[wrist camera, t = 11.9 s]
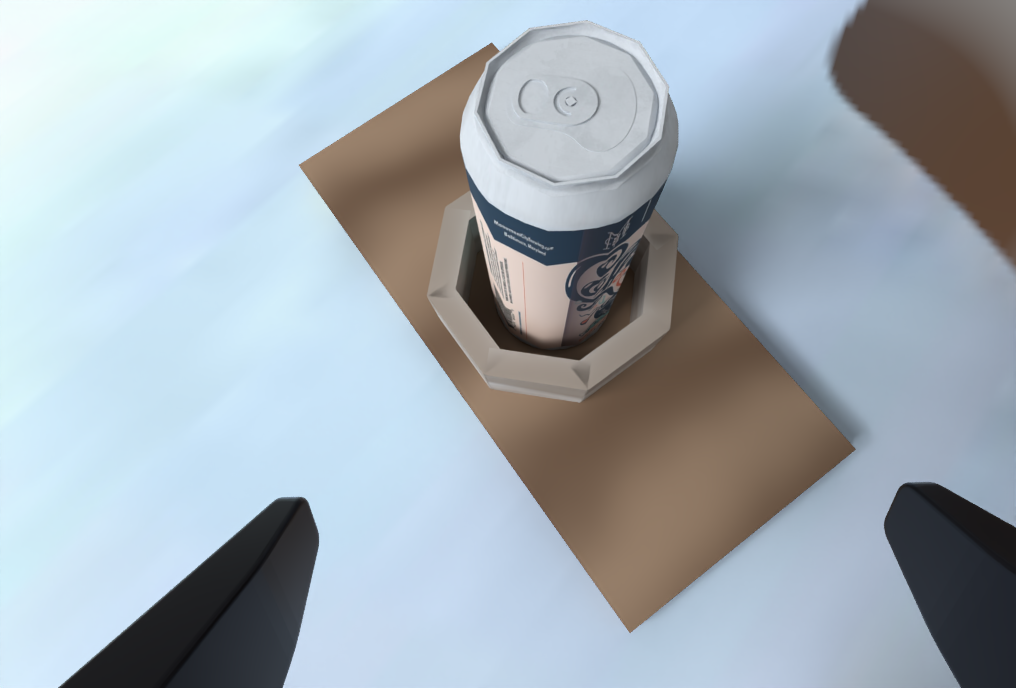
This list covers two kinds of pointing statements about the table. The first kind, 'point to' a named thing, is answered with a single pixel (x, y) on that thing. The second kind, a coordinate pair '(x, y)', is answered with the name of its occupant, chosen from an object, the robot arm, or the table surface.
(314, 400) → the table surface
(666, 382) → the socket board
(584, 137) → the beer can
